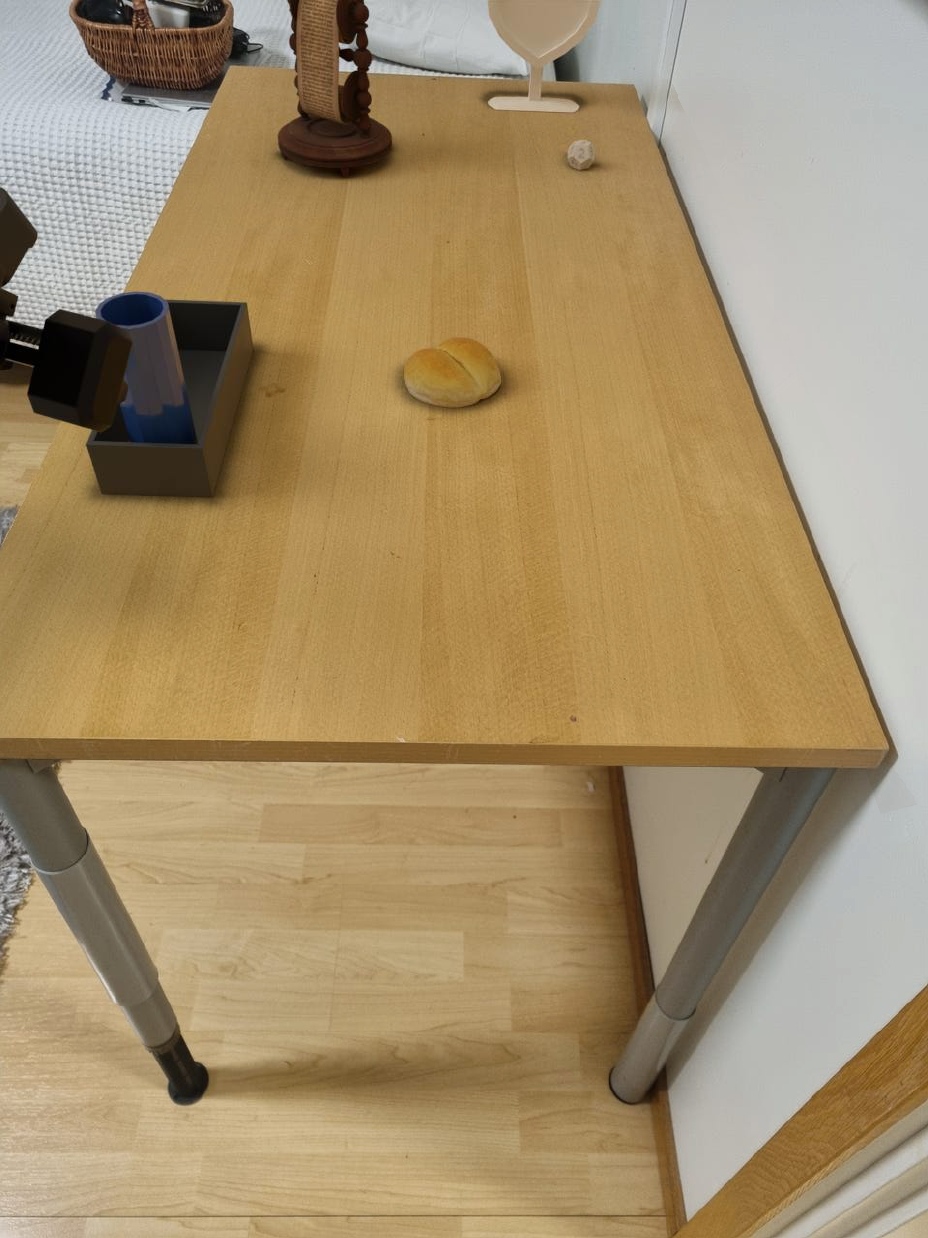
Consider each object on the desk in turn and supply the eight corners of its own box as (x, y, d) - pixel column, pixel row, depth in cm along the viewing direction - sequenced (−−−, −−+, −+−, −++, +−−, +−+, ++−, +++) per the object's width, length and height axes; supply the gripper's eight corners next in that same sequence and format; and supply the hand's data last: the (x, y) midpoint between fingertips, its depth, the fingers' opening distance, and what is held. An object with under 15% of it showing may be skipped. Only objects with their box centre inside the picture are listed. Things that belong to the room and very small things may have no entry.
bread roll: (388, 380, 89) (387, 342, 86) (464, 352, 93) (466, 316, 90) (437, 424, 85) (437, 386, 82) (515, 393, 88) (518, 356, 85)
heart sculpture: (481, 108, 136) (489, -39, 123) (480, 96, 139) (487, -49, 126) (587, 112, 137) (606, -34, 123) (583, 100, 140) (601, -44, 127)
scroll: (256, 161, 121) (234, -21, 106) (322, 125, 130) (311, -48, 115) (351, 189, 116) (342, 4, 101) (413, 150, 125) (413, -26, 110)
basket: (213, 502, 76) (202, 448, 72) (102, 498, 76) (85, 444, 72) (254, 353, 91) (246, 302, 87) (161, 350, 91) (149, 298, 87)
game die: (560, 166, 124) (563, 142, 121) (577, 158, 125) (580, 134, 123) (581, 174, 122) (584, 150, 120) (598, 166, 124) (602, 142, 122)
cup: (174, 487, 77) (137, 335, 66) (124, 467, 78) (79, 315, 68) (213, 453, 80) (182, 302, 69) (164, 434, 81) (127, 284, 71)
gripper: (66, 186, 46) (217, 290, 62) (-227, 120, 50) (-17, 233, 65) (12, 405, 47) (174, 454, 62) (-272, 324, 51) (-54, 389, 66)
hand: (67, 377), depth 64 cm, fingers open, 9 cm apart
